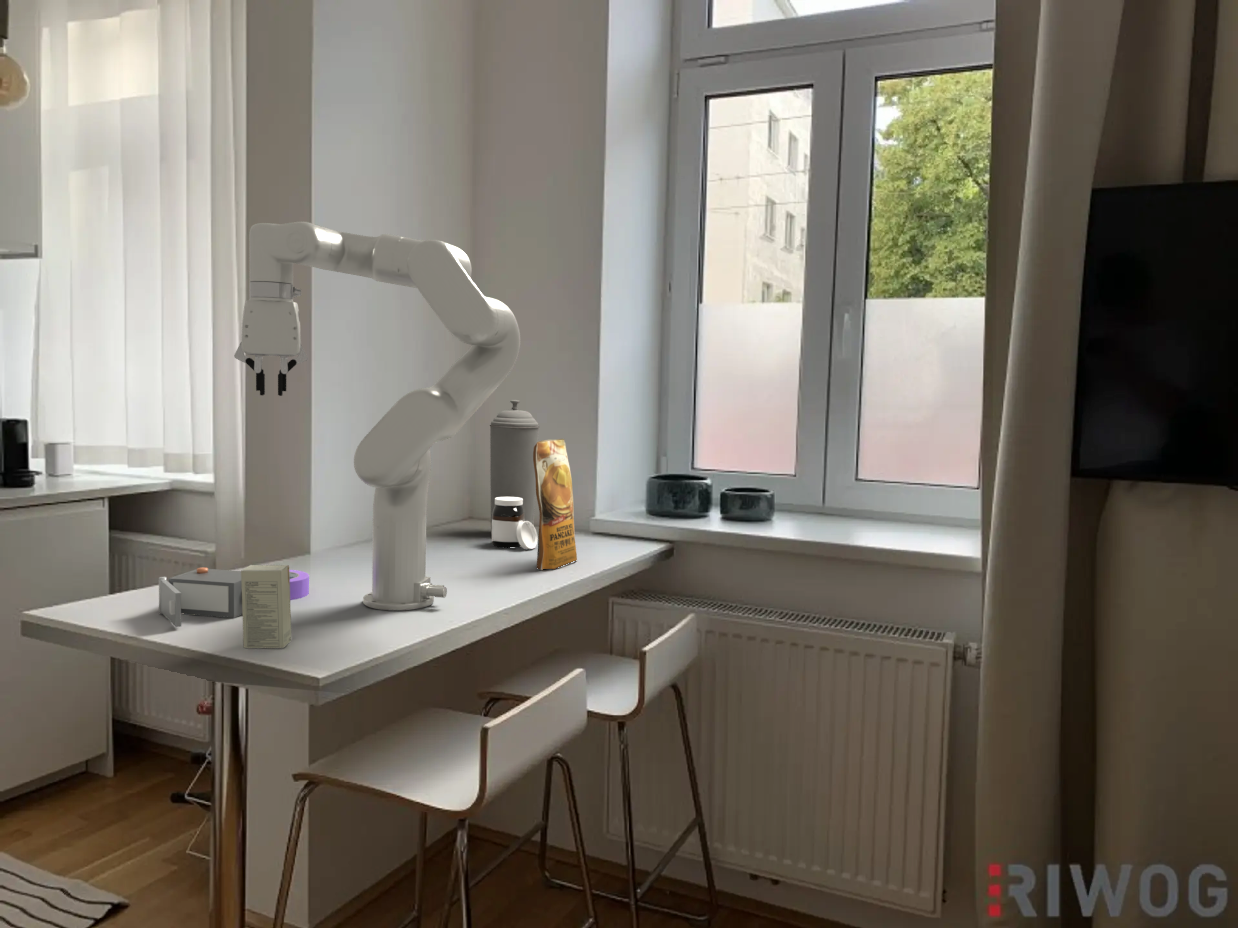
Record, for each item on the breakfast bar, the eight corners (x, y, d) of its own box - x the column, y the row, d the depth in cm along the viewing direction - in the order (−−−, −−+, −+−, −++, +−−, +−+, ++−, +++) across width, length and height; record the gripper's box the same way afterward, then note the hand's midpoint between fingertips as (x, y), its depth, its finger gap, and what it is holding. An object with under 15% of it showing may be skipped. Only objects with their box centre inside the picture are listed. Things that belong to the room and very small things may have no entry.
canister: (528, 540, 251) (531, 401, 248) (480, 537, 254) (483, 399, 250) (542, 532, 263) (545, 400, 260) (496, 529, 266) (499, 398, 263)
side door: (182, 628, 160) (182, 590, 159) (171, 629, 159) (171, 591, 158) (166, 612, 169) (165, 576, 169) (155, 613, 169) (155, 577, 168)
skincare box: (292, 641, 155) (292, 564, 154) (283, 649, 151) (283, 570, 150) (250, 640, 155) (250, 563, 154) (240, 648, 151) (240, 569, 149)
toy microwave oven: (268, 606, 176) (268, 569, 176) (240, 618, 167) (240, 579, 167) (199, 600, 178) (199, 564, 178) (168, 613, 169) (167, 574, 169)
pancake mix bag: (519, 569, 215) (522, 440, 212) (560, 555, 232) (563, 436, 229) (547, 573, 212) (550, 442, 209) (586, 559, 229) (589, 438, 227)
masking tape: (317, 589, 191) (317, 570, 191) (296, 604, 180) (296, 583, 179) (257, 587, 192) (257, 567, 191) (232, 601, 180) (232, 580, 180)
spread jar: (495, 541, 248) (496, 495, 247) (540, 543, 248) (541, 497, 247) (487, 550, 236) (488, 501, 235) (534, 552, 236) (535, 503, 235)
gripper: (317, 297, 186) (317, 395, 188) (225, 292, 182) (226, 393, 183) (317, 295, 179) (317, 397, 181) (221, 290, 174) (222, 395, 176)
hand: (271, 394), depth 182 cm, fingers open, 2 cm apart
